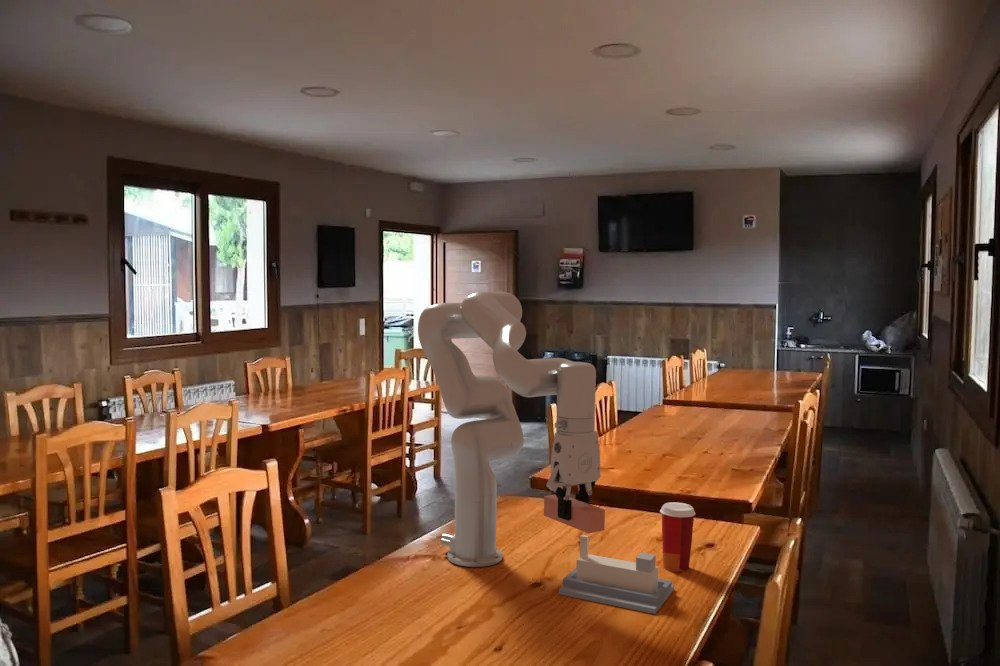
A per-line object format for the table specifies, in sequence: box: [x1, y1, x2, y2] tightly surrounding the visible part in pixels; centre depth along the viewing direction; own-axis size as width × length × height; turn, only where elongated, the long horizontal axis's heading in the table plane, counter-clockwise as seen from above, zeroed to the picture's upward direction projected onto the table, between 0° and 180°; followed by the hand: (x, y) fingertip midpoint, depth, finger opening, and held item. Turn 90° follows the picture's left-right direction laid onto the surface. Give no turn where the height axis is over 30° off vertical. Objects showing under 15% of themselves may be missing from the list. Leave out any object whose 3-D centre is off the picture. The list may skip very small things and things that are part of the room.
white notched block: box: [576, 534, 659, 594], centre depth 165 cm, size 16×4×10 cm, turn 63°
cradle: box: [558, 567, 675, 615], centre depth 165 cm, size 20×14×2 cm
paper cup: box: [659, 501, 696, 573], centre depth 179 cm, size 8×8×14 cm
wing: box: [543, 493, 606, 534], centre depth 159 cm, size 14×4×4 cm, turn 34°
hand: (573, 515), depth 159 cm, fingers closed on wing, 4 cm apart
